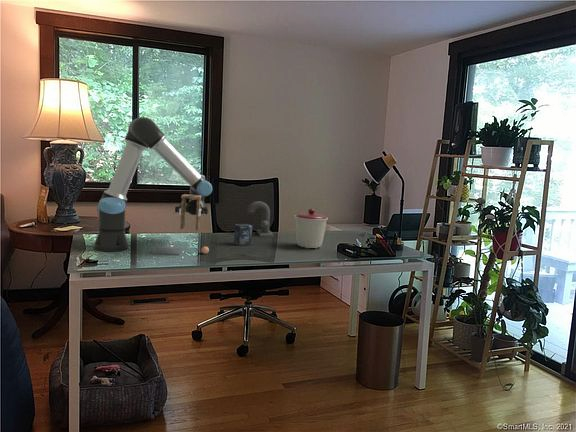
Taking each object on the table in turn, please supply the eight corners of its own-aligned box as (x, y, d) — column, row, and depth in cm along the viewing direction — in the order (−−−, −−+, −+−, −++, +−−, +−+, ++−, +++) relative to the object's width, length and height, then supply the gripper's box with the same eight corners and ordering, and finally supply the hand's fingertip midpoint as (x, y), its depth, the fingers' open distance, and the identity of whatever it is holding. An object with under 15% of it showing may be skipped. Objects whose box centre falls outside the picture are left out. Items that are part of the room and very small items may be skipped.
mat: (150, 253, 229) (150, 252, 228) (155, 248, 241) (155, 246, 241) (179, 255, 230) (179, 253, 230) (182, 249, 243) (182, 248, 243)
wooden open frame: (179, 229, 230) (181, 195, 228) (182, 226, 239) (183, 194, 237) (198, 230, 231) (199, 197, 229) (199, 227, 240) (201, 195, 237)
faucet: (244, 231, 306) (246, 198, 303) (269, 232, 309) (271, 200, 306) (247, 236, 288) (249, 202, 286) (274, 237, 291) (276, 203, 289)
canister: (316, 243, 281) (319, 206, 279) (331, 250, 265) (334, 211, 262) (287, 243, 274) (289, 206, 272) (300, 250, 258) (303, 210, 255)
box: (238, 245, 261) (239, 225, 259) (233, 243, 265) (234, 224, 264) (251, 245, 265) (252, 225, 263) (246, 242, 270) (247, 223, 268)
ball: (201, 254, 235) (201, 247, 234) (201, 252, 238) (201, 245, 238) (208, 254, 235) (208, 247, 235) (208, 253, 238) (209, 245, 238)
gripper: (214, 215, 253) (211, 222, 231) (173, 212, 251) (166, 219, 229) (215, 200, 252) (212, 206, 230) (174, 198, 250) (167, 203, 228)
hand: (189, 212), depth 229 cm, fingers closed on wooden open frame, 8 cm apart
